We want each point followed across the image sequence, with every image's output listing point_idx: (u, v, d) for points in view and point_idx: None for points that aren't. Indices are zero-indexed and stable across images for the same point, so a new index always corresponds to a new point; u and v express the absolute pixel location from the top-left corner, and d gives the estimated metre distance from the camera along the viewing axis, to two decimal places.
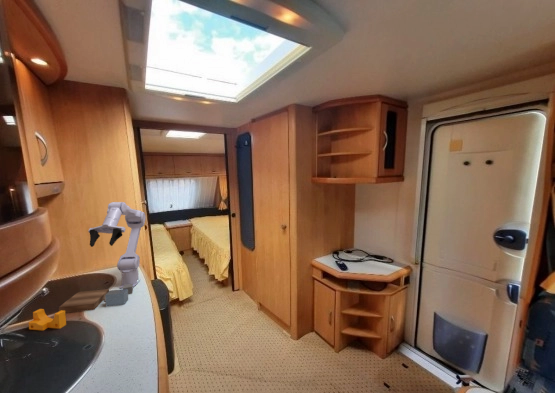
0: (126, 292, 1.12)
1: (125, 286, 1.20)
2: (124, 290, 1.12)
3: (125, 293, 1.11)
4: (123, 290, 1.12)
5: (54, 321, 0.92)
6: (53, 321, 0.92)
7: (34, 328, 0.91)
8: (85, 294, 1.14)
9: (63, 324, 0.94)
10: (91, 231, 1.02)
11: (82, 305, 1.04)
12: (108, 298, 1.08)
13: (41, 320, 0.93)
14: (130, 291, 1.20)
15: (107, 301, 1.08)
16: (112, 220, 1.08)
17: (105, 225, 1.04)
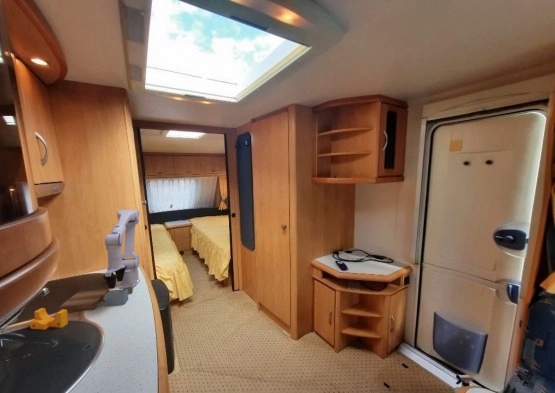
0: (126, 292, 1.12)
1: (125, 286, 1.20)
2: (124, 290, 1.12)
3: (125, 293, 1.11)
4: (123, 290, 1.12)
5: (55, 320, 0.93)
6: (55, 320, 0.93)
7: (36, 327, 0.92)
8: (85, 294, 1.14)
9: (65, 323, 0.94)
10: (116, 276, 1.05)
11: (82, 305, 1.04)
12: (108, 298, 1.08)
13: (43, 319, 0.93)
14: (130, 291, 1.20)
15: (107, 301, 1.08)
16: None
17: None
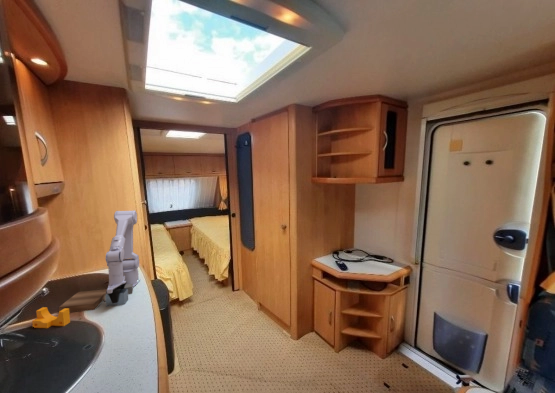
0: (126, 292, 1.12)
1: (125, 286, 1.20)
2: (124, 290, 1.12)
3: (125, 292, 1.11)
4: (123, 290, 1.12)
5: (58, 319, 0.94)
6: (57, 319, 0.94)
7: (38, 326, 0.93)
8: (85, 294, 1.14)
9: (67, 322, 0.95)
10: (118, 291, 1.08)
11: (82, 305, 1.04)
12: (108, 298, 1.08)
13: (45, 318, 0.94)
14: (130, 291, 1.20)
15: (107, 301, 1.08)
16: None
17: None
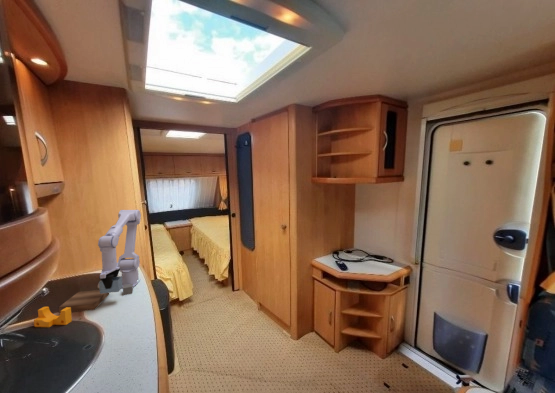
0: (120, 279, 1.12)
1: (125, 286, 1.20)
2: (117, 277, 1.12)
3: (119, 279, 1.10)
4: (117, 277, 1.12)
5: (60, 318, 0.94)
6: (59, 318, 0.94)
7: (40, 325, 0.93)
8: (85, 294, 1.14)
9: (69, 320, 0.96)
10: (112, 277, 1.07)
11: (82, 305, 1.04)
12: (102, 285, 1.08)
13: (46, 317, 0.95)
14: (130, 291, 1.20)
15: (101, 288, 1.08)
16: None
17: None
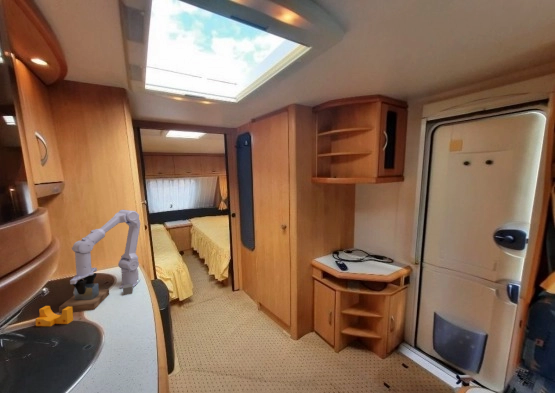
0: (96, 287, 1.11)
1: (125, 286, 1.20)
2: (93, 284, 1.11)
3: (93, 287, 1.09)
4: (93, 284, 1.11)
5: (61, 317, 0.95)
6: (61, 317, 0.95)
7: (41, 324, 0.94)
8: None
9: (70, 319, 0.97)
10: (84, 282, 1.06)
11: (82, 305, 1.04)
12: (77, 292, 1.08)
13: (48, 316, 0.95)
14: (130, 291, 1.20)
15: (76, 294, 1.08)
16: None
17: None
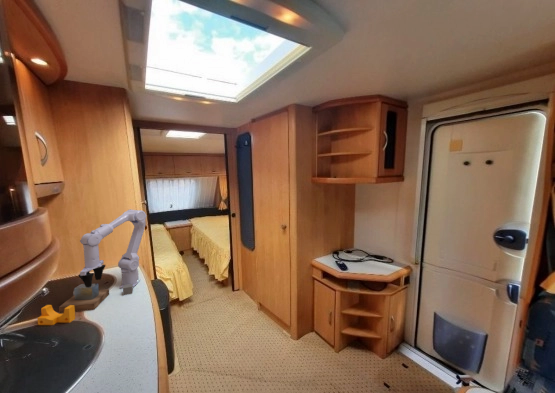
0: (96, 287, 1.11)
1: (125, 286, 1.20)
2: (93, 284, 1.11)
3: (93, 287, 1.09)
4: (93, 284, 1.11)
5: (64, 316, 0.96)
6: (63, 315, 0.96)
7: (43, 323, 0.94)
8: None
9: (73, 318, 0.98)
10: (91, 275, 1.07)
11: (82, 305, 1.04)
12: (77, 292, 1.08)
13: (50, 315, 0.96)
14: (130, 291, 1.20)
15: (76, 295, 1.08)
16: None
17: None
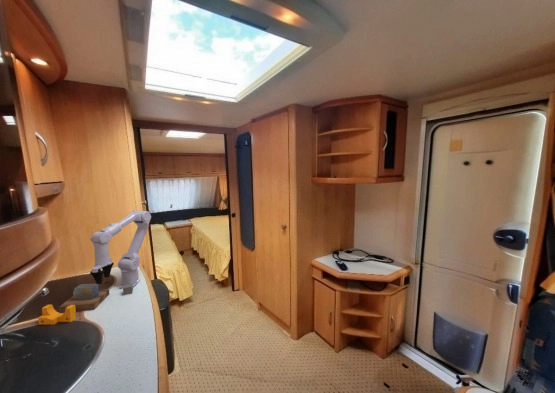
0: (96, 287, 1.11)
1: (125, 286, 1.20)
2: (93, 284, 1.11)
3: (93, 287, 1.09)
4: (93, 284, 1.11)
5: (64, 315, 0.96)
6: (64, 315, 0.96)
7: (44, 323, 0.95)
8: None
9: (73, 318, 0.98)
10: (102, 272, 1.10)
11: (82, 305, 1.04)
12: (77, 292, 1.08)
13: (51, 315, 0.96)
14: (130, 291, 1.20)
15: (76, 295, 1.08)
16: (108, 256, 1.16)
17: None
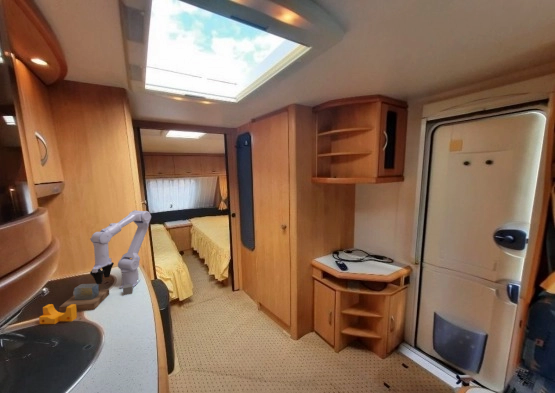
0: (96, 287, 1.11)
1: (125, 286, 1.20)
2: (93, 284, 1.11)
3: (93, 287, 1.09)
4: (93, 284, 1.11)
5: (65, 315, 0.97)
6: (65, 314, 0.97)
7: (45, 322, 0.95)
8: None
9: (74, 317, 0.98)
10: (102, 272, 1.10)
11: (82, 305, 1.04)
12: (77, 292, 1.08)
13: (52, 314, 0.97)
14: (130, 291, 1.20)
15: (76, 295, 1.08)
16: (108, 256, 1.16)
17: None
